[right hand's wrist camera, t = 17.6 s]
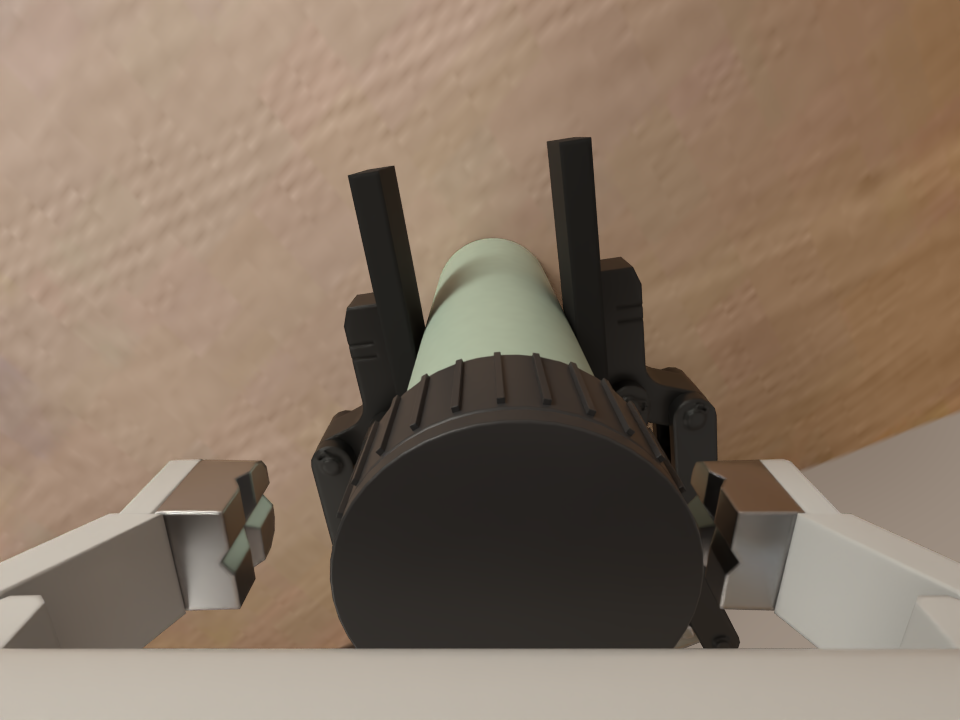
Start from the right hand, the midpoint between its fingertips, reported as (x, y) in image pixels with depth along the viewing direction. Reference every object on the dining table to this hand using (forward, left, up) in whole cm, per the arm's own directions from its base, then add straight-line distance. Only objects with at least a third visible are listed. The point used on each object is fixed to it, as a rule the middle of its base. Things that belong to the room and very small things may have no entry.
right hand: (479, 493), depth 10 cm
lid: (0, 0, +2) cm, 2 cm away
